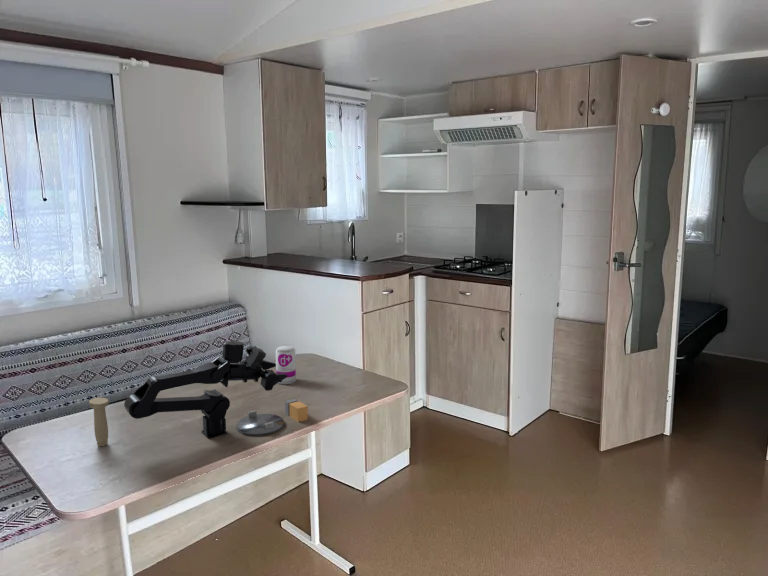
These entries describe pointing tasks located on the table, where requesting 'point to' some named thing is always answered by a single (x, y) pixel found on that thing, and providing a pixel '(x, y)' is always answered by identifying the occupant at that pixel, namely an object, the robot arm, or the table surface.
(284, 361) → the supplement can
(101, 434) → the handle
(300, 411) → the tan and grey block
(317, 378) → the table surface
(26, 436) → the table surface
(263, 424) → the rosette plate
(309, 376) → the table surface
